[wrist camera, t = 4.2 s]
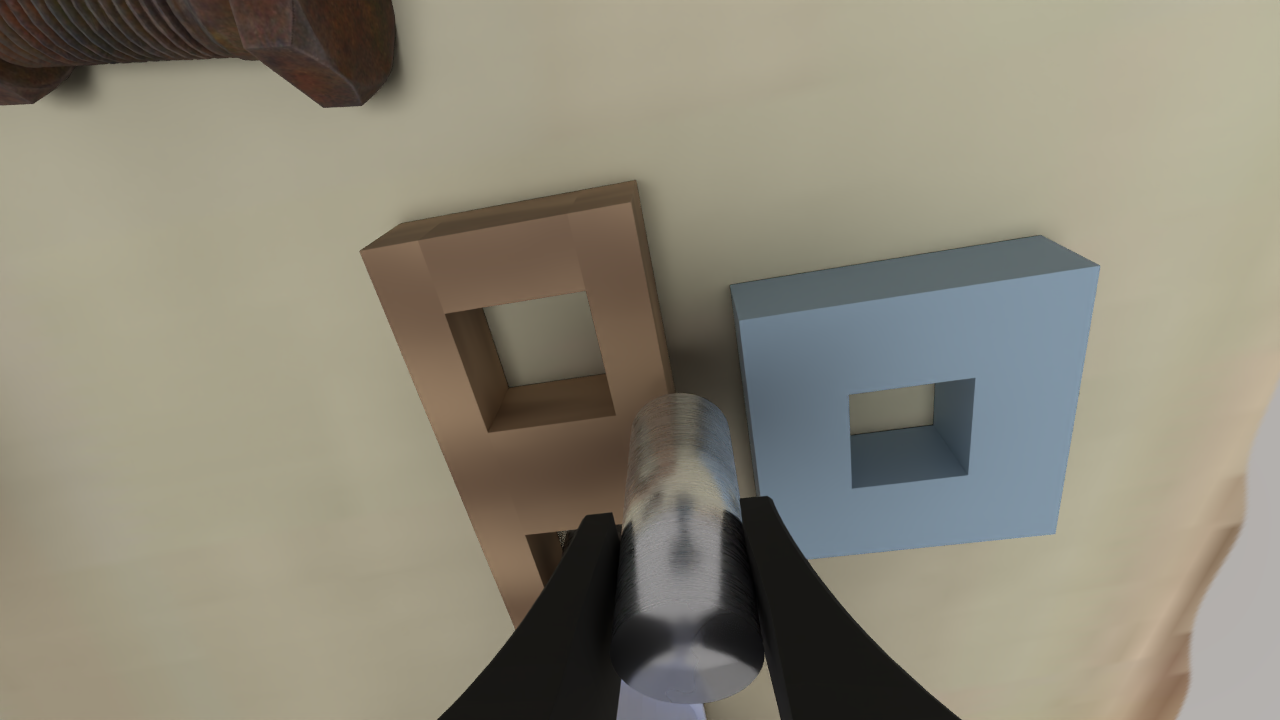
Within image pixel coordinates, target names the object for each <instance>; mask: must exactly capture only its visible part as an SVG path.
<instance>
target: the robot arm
mask: <svg viewBox="0 0 1280 720" xmlns="http://www.w3.org/2000/svg"><path fill="white" fill-rule="evenodd" d="M739 501H740V509H741V517H742V524H743V531H744V537H745V544H746V550H747V557H748V561H749V565H750V570H751V574H752V579H753V583H754V589H755V595H756V601H757V608H758V614H759V620H760V626H761V633H762V639H763V645H764V652H765V657H766V661H767V665H768V669H769V673H770V677H771V681H772V685H773V689H774V693H775V697H776V701H777V705H778V709H779V713H780V718H781V720H961V719H960V718H959V717H957V716H956V715H955V714H954V713H953V712H951V711H950V710H949V709H948V708H947V707H945V706H944V705H943V704H942V703H941V702H939V701H938V700H937V699H936V698H935V697H933V696H932V695H931V694H930V693H929V692H927V691H926V690H925V689H924V688H923V687H922V686H921V685H920V684H919V683H918V682H917V681H915V680H914V679H913V678H912V677H911V676H910V675H909V674H908V673H907V672H906V671H905V670H903V669H902V668H901V667H900V666H899V665H898V664H897V663H896V662H895V661H894V660H893V659H892V658H890V657H889V656H888V655H887V654H886V653H885V652H884V651H883V650H882V649H881V648H880V647H879V646H878V644H877V643H876V642H875V641H874V640H873V639H872V638H871V637H870V636H869V635H868V634H867V633H866V632H865V631H864V630H863V629H862V628H861V627H860V626H859V624H858V623H857V622H856V621H855V620H854V619H853V618H852V617H851V616H850V614H849V613H848V612H847V611H846V610H845V609H844V607H843V606H842V605H841V604H840V603H839V601H838V600H837V599H836V598H835V596H834V595H833V594H832V593H831V591H830V590H829V589H828V588H827V586H826V585H825V584H824V583H823V581H822V580H821V579H820V577H819V576H818V575H817V573H816V572H815V571H814V569H813V568H812V566H811V565H810V563H809V562H808V560H807V559H806V558H805V556H804V555H803V553H802V552H801V550H800V549H799V547H798V546H797V544H796V543H795V541H794V540H793V538H792V536H791V535H790V533H789V531H788V530H787V528H786V526H785V524H784V523H783V521H782V519H781V517H780V515H779V513H778V511H777V509H776V507H775V504H774V502H773V499H771V498H770V497H768V496H760V497H751V498H741V499H739ZM619 553H620V540H619V536H618V532H617V528H616V524H615V521H614V517H613V513H612V512H609V513H600V514H591V515H586V516H585V517H584V518H583V519H582V521H581V523H580V525H579V527H578V529H577V531H576V533H575V535H574V537H573V539H572V540H571V542H570V544H569V546H568V548H567V550H566V551H565V553H564V555H563V557H562V559H561V560H560V562H559V564H558V566H557V567H556V569H555V571H554V572H553V574H552V576H551V577H550V579H549V580H548V582H547V584H546V585H545V587H544V589H543V590H542V592H541V593H540V595H539V597H538V598H537V600H536V601H535V602H534V604H533V605H532V607H531V608H530V610H529V611H528V613H527V614H526V616H525V617H524V619H523V620H522V622H521V623H520V625H519V626H518V627H517V629H516V630H515V631H514V633H513V634H512V635H511V637H510V638H509V639H508V641H507V642H506V643H505V645H504V646H503V647H502V648H501V650H500V651H499V652H498V653H497V655H496V656H495V657H494V658H493V660H492V661H491V662H490V663H489V665H488V666H487V667H486V668H485V669H484V670H483V671H482V673H481V674H480V675H479V676H478V677H477V678H476V679H475V681H474V682H473V683H472V684H471V685H470V686H469V687H468V689H467V690H466V691H465V692H464V693H463V694H462V695H461V696H460V697H459V698H458V699H457V700H456V701H455V702H454V704H453V705H452V706H451V707H450V708H449V709H448V710H447V711H445V712H444V713H443V714H442V715H441V716H440V717H439V718H438V719H437V720H707V718H706V714H705V709H704V705H703V703H702V704H676V703H669V702H664V701H660V700H656V699H653V698H650V697H648V696H645V695H643V694H641V693H639V692H637V691H636V690H634V689H633V688H631V687H630V686H629V685H627V684H626V683H625V682H624V681H623V680H622V679H621V678H620V677H619V675H618V674H617V673H616V671H615V669H614V667H613V665H612V662H611V657H610V648H611V637H612V627H613V616H614V606H615V595H616V585H617V574H618V564H619Z"/></svg>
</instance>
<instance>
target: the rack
mask: <svg viewBox="0 0 1280 720" xmlns="http://www.w3.org/2000/svg"><path fill="white" fill-rule="evenodd" d="M360 254H361V256H362V259H363V261H364V263H365V266H366V268H367V271H368V273H369V276H370V278H371V280H372V283H373V285H374V288H375V290H376V293H377V295H378V297H379V300H380V302H381V305H382V307H383V309H384V312H385V314H386V317H387V319H388V322H389V324H390V326H391V329H392V331H393V334H394V336H395V339H396V341H397V343H398V346H399V348H400V351H401V353H402V356H403V358H404V360H405V363H406V365H407V368H408V370H409V373H410V375H411V377H412V380H413V382H414V385H415V387H416V390H417V392H418V394H419V397H420V399H421V402H422V404H423V407H424V409H425V411H426V414H427V416H428V419H429V421H430V424H431V426H432V428H433V431H434V433H435V436H436V438H437V440H438V443H439V445H440V448H441V450H442V453H443V455H444V457H445V460H446V462H447V465H448V467H449V470H450V472H451V474H452V477H453V479H454V482H455V484H456V487H457V489H458V491H459V494H460V496H461V499H462V501H463V504H464V506H465V508H466V511H467V513H468V516H469V518H470V521H471V523H472V525H473V528H474V530H475V533H476V535H477V538H478V540H479V542H480V545H481V547H482V550H483V552H484V555H485V557H486V559H487V562H488V564H489V567H490V569H491V571H492V574H493V576H494V579H495V581H496V584H497V586H498V588H499V591H500V593H501V596H502V598H503V601H504V603H505V605H506V608H507V610H508V613H509V615H510V618H511V620H512V622H513V625H514V627H515V630H516V629H517V627H518V626H519V625H520V623H521V622H522V620H523V619H524V617H525V616H526V614H527V613H528V611H529V610H530V608H531V607H532V605H533V604H534V602H535V601H536V600H537V598H538V597H539V595H540V593H541V592H542V590H543V589H544V587H545V585H546V584H547V582H548V580H549V579H550V577H551V576H552V574H553V572H554V571H555V569H556V567H557V566H558V564H559V562H560V560H561V556H562V551H563V550H562V547H561V544H560V541H559V538H558V535H557V532H556V531H565V530H574V529H578V527H579V525H580V523H581V521H582V519H583V518H584V517H585V516H586V515H591V514H600V513H609V512H612V513H613V517H614V521H615V524H616V525H618V524H622V521H623V511H624V500H625V490H626V479H627V469H628V458H629V448H630V437H631V428H632V424H633V421H634V419H635V417H636V415H637V414H638V412H639V411H640V410H641V409H642V408H643V407H644V406H645V405H646V404H647V403H649V402H650V401H652V400H654V399H656V398H658V397H661V396H663V395H667V394H673V393H676V392H675V387H674V381H673V376H672V371H671V365H670V360H669V354H668V349H667V344H666V338H665V333H664V328H663V322H662V317H661V311H660V306H659V301H658V295H657V290H656V284H655V279H654V274H653V268H652V263H651V258H650V252H649V247H648V241H647V236H646V231H645V225H644V220H643V215H642V209H641V204H640V198H639V193H638V188H637V182H636V180H634V181H629V182H623V183H618V184H612V185H607V186H602V187H596V188H591V189H585V190H580V191H574V192H569V193H564V194H558V195H553V196H547V197H542V198H536V199H531V200H526V201H520V202H515V203H509V204H504V205H498V206H493V207H488V208H482V209H477V210H471V211H466V212H461V213H455V214H450V215H444V216H439V217H433V218H428V219H423V220H417V221H412V222H406V223H401V224H399V225H397V226H396V227H394V228H393V229H391V230H390V231H389V232H387V233H386V234H384V235H383V236H381V237H380V238H378V239H377V240H375V241H374V242H372V243H371V244H369V245H368V246H366V247H365V248H363V249H362V250H360ZM581 291H586V294H587V298H588V302H589V306H590V310H591V314H592V318H593V322H594V326H595V331H596V335H597V339H598V343H599V347H600V351H601V355H602V359H603V364H604V368H605V372H606V374H600V375H594V376H587V377H580V378H573V379H566V380H559V381H552V382H546V383H539V384H532V385H525V386H518V387H511V388H509V387H508V384H507V381H506V378H505V375H504V372H503V369H502V366H501V363H500V360H499V357H498V354H497V351H496V348H495V345H494V342H493V339H492V336H491V333H490V330H489V327H488V324H487V321H486V318H485V315H484V312H483V309H482V308H483V307H489V306H495V305H501V304H508V303H514V302H520V301H526V300H532V299H538V298H544V297H550V296H557V295H563V294H569V293H575V292H581Z"/></svg>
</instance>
